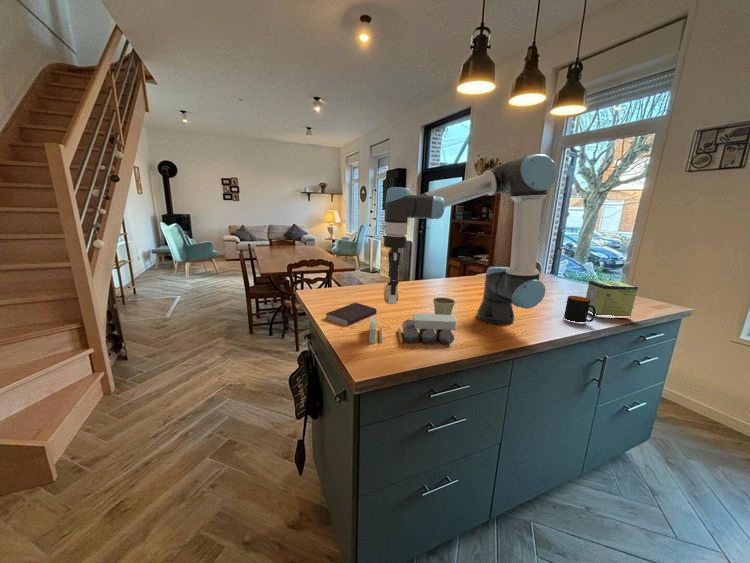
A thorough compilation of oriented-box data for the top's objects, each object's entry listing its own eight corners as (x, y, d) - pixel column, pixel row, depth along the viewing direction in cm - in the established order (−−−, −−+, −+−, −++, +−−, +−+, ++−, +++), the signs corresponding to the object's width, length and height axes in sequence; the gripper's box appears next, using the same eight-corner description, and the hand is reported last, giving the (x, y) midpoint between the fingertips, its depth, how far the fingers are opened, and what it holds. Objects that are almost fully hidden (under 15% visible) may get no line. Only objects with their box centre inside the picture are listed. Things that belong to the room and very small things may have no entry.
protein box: (630, 319, 139) (638, 286, 136) (597, 317, 139) (604, 285, 136) (613, 312, 150) (620, 281, 146) (582, 310, 150) (588, 280, 146)
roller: (385, 297, 111) (382, 285, 110) (397, 294, 111) (395, 282, 110) (385, 305, 102) (382, 292, 101) (399, 302, 101) (396, 289, 100)
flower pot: (426, 319, 128) (428, 299, 126) (438, 314, 135) (440, 296, 133) (446, 325, 122) (448, 305, 120) (457, 320, 129) (459, 300, 127)
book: (376, 315, 132) (377, 308, 132) (348, 327, 117) (348, 319, 116) (354, 309, 139) (354, 302, 139) (324, 320, 124) (324, 312, 123)
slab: (450, 322, 111) (450, 315, 110) (455, 330, 104) (455, 321, 104) (412, 321, 111) (412, 313, 110) (414, 328, 104) (415, 320, 104)
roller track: (446, 333, 114) (447, 320, 113) (453, 345, 103) (455, 332, 102) (379, 330, 114) (379, 318, 113) (379, 342, 103) (380, 329, 102)
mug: (585, 328, 126) (590, 304, 123) (559, 318, 137) (563, 296, 134) (598, 326, 129) (603, 302, 126) (572, 316, 140) (576, 295, 137)
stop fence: (375, 329, 115) (375, 317, 113) (375, 343, 103) (375, 329, 102) (369, 329, 115) (370, 317, 113) (369, 343, 103) (369, 329, 102)
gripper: (383, 232, 112) (380, 290, 117) (384, 237, 90) (381, 308, 95) (404, 233, 112) (400, 291, 117) (409, 239, 90) (404, 309, 95)
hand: (391, 299), depth 106 cm, fingers closed on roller, 10 cm apart
